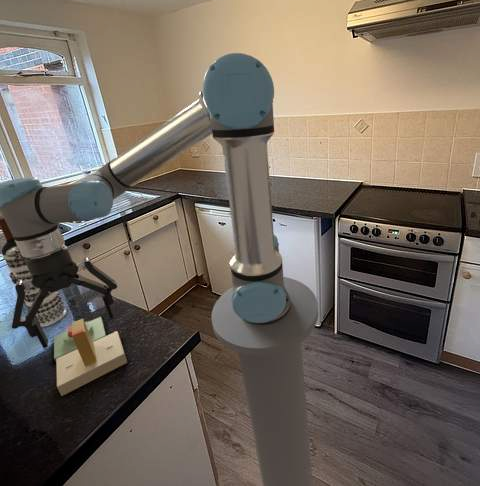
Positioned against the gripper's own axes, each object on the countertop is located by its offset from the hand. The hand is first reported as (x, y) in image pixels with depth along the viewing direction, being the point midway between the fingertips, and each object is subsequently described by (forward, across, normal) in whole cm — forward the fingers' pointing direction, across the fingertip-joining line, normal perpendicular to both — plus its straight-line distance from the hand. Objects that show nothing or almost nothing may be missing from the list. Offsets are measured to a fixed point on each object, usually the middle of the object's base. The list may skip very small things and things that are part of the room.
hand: (80, 329), depth 71 cm
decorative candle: (+11, -10, +31) cm, 35 cm away
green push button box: (+11, -2, +13) cm, 18 cm away
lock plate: (+11, 0, 0) cm, 11 cm away
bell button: (+9, -2, +13) cm, 16 cm away
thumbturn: (+8, 0, 0) cm, 8 cm away
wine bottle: (+11, -14, +50) cm, 53 cm away
